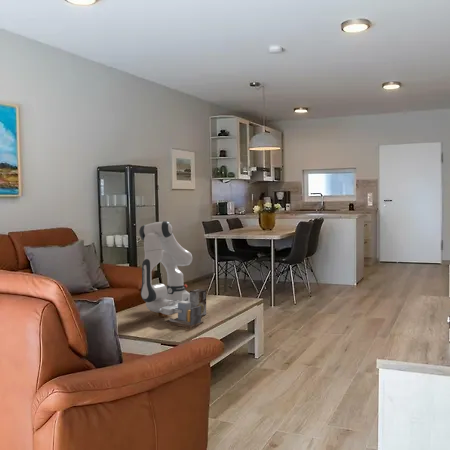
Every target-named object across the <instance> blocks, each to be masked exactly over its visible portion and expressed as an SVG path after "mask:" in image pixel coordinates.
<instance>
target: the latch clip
mask: <svg viewBox="0 0 450 450" xmlns="http://www.w3.org/2000/svg"><path fill="white" fill-rule="evenodd" d="M188 322H191V310H188Z"/></svg>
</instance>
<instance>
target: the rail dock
mask: <svg viewBox="0 0 450 450" xmlns="http://www.w3.org/2000/svg"><path fill="white" fill-rule="evenodd" d="M165 324H167V325H172V326H176V325H177V326H178V327H181V326H182V328H186V327H187V329H190V327H191V328H192V327H193V328H194V327H196V326H198V325H202V324H204V320H202V315H201V306H198V307H194V308H191V322H187V321H182V320H178V317H177V318H171V317H170V318H169V320H167V321H165Z"/></svg>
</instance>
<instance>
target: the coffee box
mask: <svg viewBox="0 0 450 450" xmlns="http://www.w3.org/2000/svg"><path fill="white" fill-rule="evenodd" d="M189 293H190V303H191V308H194V307H198V306H201V316H205V315H207V290H206V289H203V288H198V289H196V288H195V289H192V290H189Z"/></svg>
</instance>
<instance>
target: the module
mask: <svg viewBox="0 0 450 450" xmlns="http://www.w3.org/2000/svg"><path fill="white" fill-rule="evenodd" d="M178 309H182V310H183V312H182V313H177V318H178V320H182V321H187V322H188V310H191V303H190V302H188V301H181V302H179V303H178Z"/></svg>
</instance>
